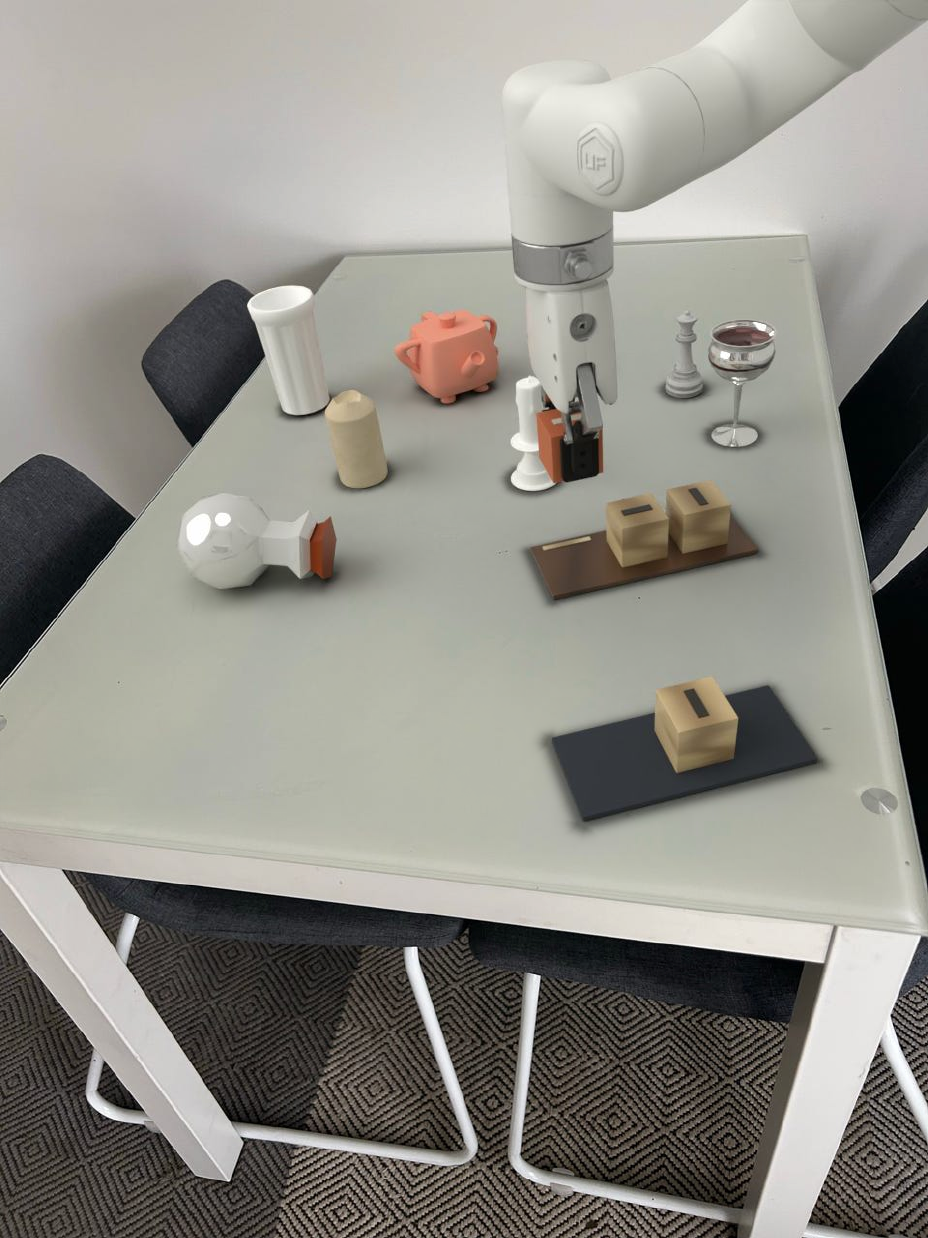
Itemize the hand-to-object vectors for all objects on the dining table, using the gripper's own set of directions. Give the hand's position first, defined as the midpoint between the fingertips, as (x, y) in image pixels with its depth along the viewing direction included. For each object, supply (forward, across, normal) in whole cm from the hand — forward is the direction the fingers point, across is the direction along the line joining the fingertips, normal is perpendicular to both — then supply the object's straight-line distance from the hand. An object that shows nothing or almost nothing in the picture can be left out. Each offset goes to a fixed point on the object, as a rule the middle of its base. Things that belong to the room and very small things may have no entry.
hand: (571, 460), depth 82 cm
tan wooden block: (+11, 0, -12) cm, 17 cm away
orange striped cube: (0, 0, 0) cm, 0 cm away
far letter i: (+11, 0, -6) cm, 13 cm away
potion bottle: (+12, +9, +29) cm, 33 cm away
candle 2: (+12, +16, -1) cm, 20 cm away
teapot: (+12, +40, +3) cm, 42 cm away
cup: (+12, +44, +22) cm, 51 cm away
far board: (+12, 0, -7) cm, 14 cm away
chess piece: (+12, +28, -23) cm, 38 cm away
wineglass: (+12, +16, -24) cm, 31 cm away
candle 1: (+12, +24, +17) cm, 32 cm away
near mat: (+12, -25, -1) cm, 27 cm away
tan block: (+11, -25, -2) cm, 27 cm away
